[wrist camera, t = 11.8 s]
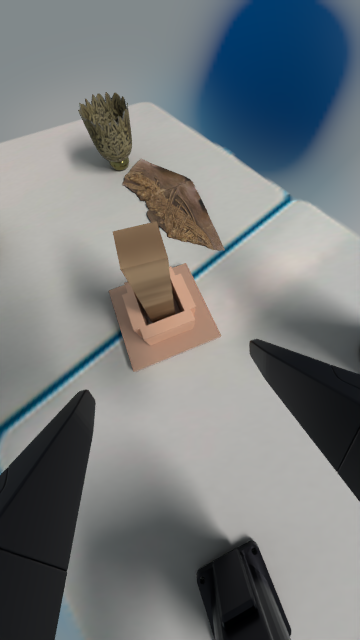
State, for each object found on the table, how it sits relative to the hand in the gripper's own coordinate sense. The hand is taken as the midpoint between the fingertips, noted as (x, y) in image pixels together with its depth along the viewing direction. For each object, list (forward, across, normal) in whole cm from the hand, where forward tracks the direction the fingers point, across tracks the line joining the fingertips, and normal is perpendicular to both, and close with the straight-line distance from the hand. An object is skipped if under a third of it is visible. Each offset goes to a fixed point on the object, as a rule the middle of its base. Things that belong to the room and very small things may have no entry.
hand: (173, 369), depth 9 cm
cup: (+38, 0, -19) cm, 42 cm away
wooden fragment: (+30, -7, -10) cm, 32 cm away
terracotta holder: (+15, 0, +4) cm, 16 cm away
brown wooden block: (+15, 0, +3) cm, 15 cm away
